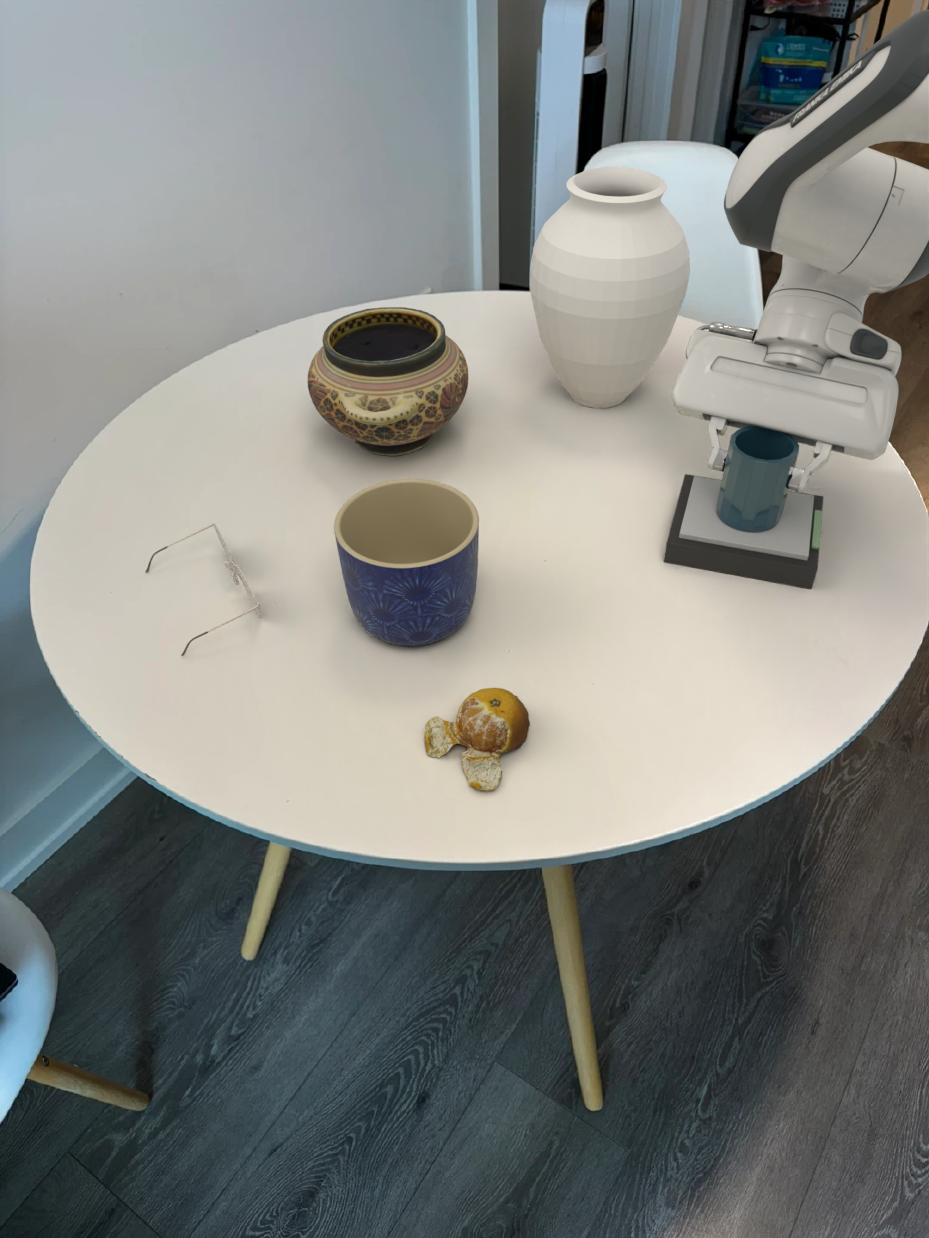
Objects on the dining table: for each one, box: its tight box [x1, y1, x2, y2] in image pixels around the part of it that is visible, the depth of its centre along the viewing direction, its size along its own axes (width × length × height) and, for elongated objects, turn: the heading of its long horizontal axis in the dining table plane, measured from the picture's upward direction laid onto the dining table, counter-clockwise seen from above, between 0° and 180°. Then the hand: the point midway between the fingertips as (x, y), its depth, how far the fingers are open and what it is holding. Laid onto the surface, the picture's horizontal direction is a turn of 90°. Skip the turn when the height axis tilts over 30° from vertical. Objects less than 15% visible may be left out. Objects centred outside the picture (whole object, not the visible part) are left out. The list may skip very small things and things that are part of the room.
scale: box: [663, 473, 824, 590], centre depth 92 cm, size 14×12×3 cm
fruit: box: [424, 687, 531, 792], centre depth 74 cm, size 8×8×4 cm
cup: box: [716, 426, 800, 532], centre depth 88 cm, size 6×6×8 cm
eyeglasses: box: [144, 522, 262, 657], centre depth 87 cm, size 14×8×4 cm, turn 28°
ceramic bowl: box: [307, 306, 469, 457], centre depth 104 cm, size 24×18×15 cm
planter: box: [333, 478, 480, 647], centre depth 82 cm, size 12×12×11 cm
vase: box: [529, 166, 691, 409], centre depth 106 cm, size 18×18×25 cm
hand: (755, 479), depth 88 cm, fingers closed on cup, 6 cm apart
